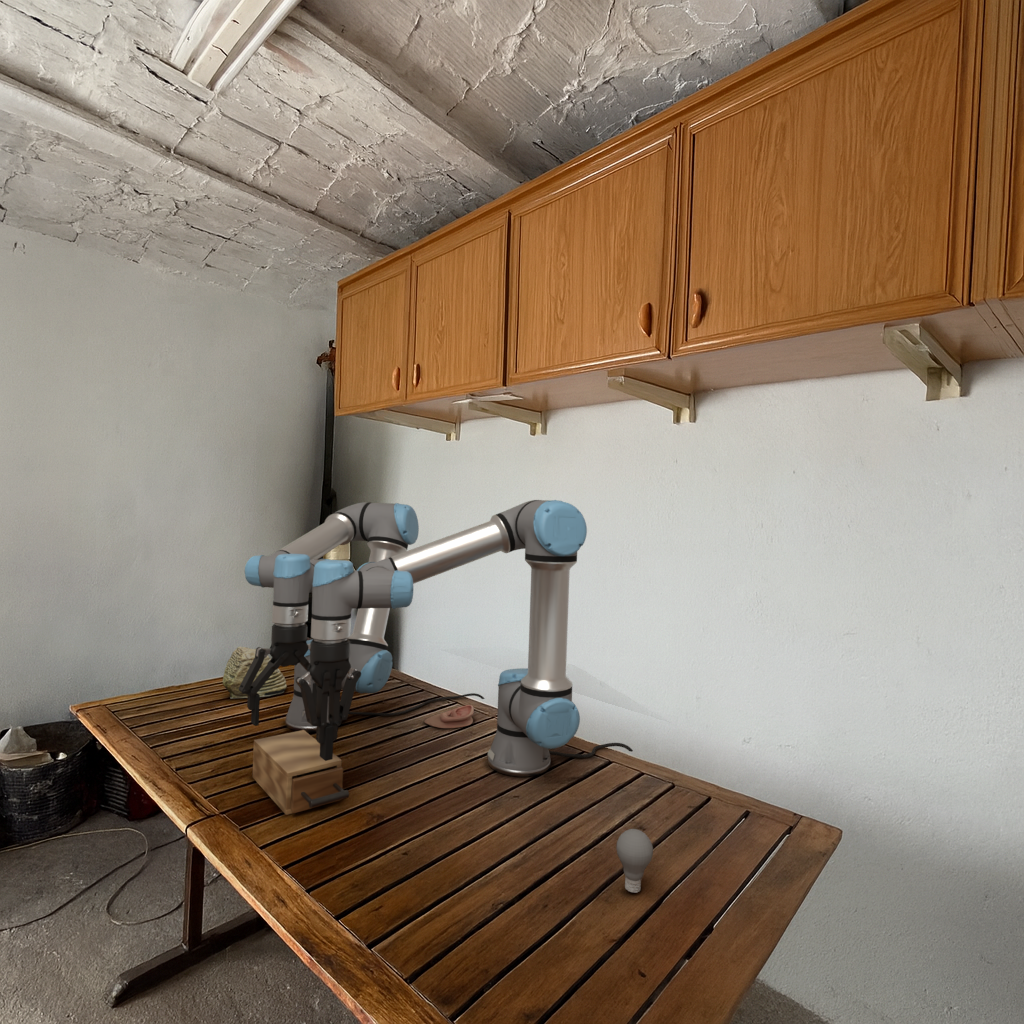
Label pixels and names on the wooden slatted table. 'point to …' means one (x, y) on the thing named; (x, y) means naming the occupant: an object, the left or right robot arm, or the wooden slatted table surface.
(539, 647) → the right robot arm
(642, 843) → the light bulb
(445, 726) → the anatomical model
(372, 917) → the wooden slatted table surface
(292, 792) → the drawer
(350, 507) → the left robot arm
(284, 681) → the fossil
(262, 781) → the cabinet
